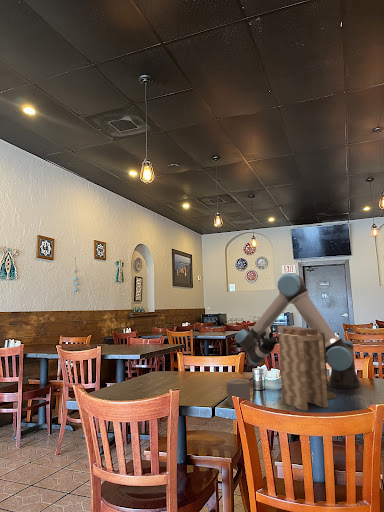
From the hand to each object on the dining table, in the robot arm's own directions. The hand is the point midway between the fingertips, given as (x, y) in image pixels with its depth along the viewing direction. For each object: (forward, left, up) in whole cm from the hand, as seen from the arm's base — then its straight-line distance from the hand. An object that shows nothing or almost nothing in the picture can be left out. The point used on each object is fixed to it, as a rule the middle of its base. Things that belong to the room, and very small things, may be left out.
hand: (282, 328), depth 186 cm
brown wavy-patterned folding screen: (-7, +12, -32) cm, 35 cm away
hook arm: (-4, +6, -2) cm, 7 cm away
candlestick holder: (-18, -2, -32) cm, 37 cm away
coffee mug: (+22, +12, -32) cm, 41 cm away
